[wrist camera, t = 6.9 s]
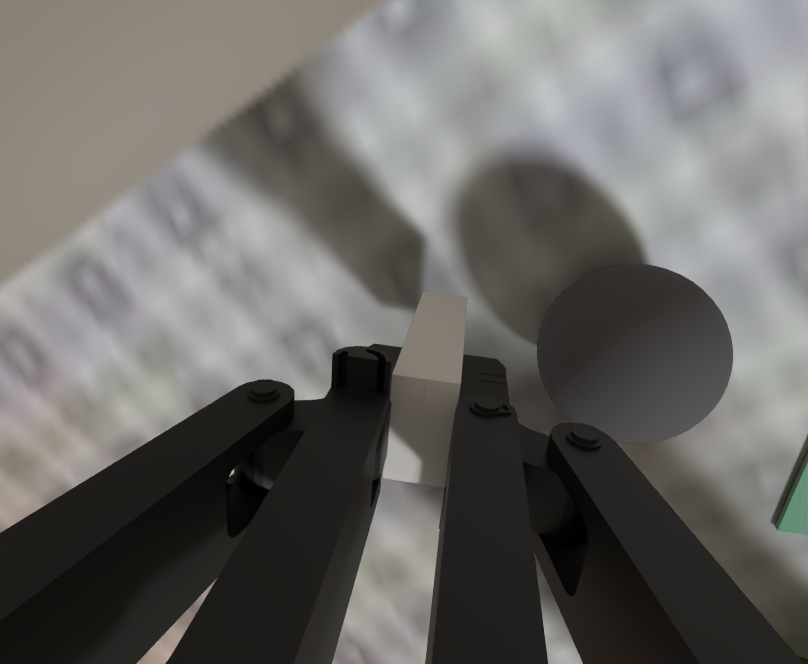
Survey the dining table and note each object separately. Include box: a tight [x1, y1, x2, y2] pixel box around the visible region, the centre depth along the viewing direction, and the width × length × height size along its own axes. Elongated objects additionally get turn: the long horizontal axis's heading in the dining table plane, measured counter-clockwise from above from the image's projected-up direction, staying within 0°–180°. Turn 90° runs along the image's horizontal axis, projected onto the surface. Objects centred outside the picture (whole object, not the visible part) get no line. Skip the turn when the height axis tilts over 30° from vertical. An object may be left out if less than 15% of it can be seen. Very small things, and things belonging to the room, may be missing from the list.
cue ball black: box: [537, 264, 733, 443], centre depth 16 cm, size 6×6×6 cm
